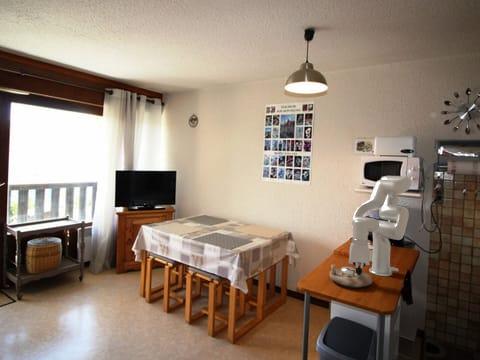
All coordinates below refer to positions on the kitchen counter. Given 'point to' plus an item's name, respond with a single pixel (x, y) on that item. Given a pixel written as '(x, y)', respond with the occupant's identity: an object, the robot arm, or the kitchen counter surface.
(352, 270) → the cover
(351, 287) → the turntable base
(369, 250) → the teacup with lid
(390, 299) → the kitchen counter surface
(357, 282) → the disc
